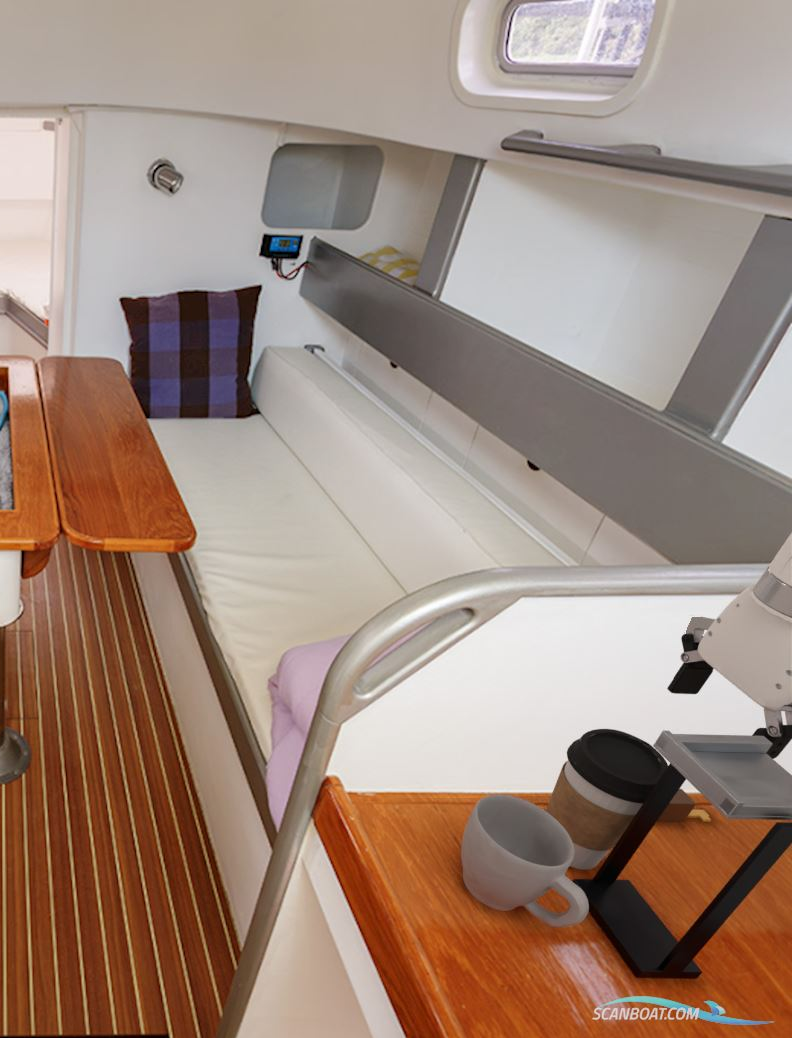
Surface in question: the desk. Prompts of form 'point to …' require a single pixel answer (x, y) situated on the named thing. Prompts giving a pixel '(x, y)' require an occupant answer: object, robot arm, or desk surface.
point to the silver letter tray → (732, 773)
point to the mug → (519, 859)
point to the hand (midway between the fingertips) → (716, 723)
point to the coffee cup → (603, 790)
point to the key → (682, 809)
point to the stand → (636, 922)
